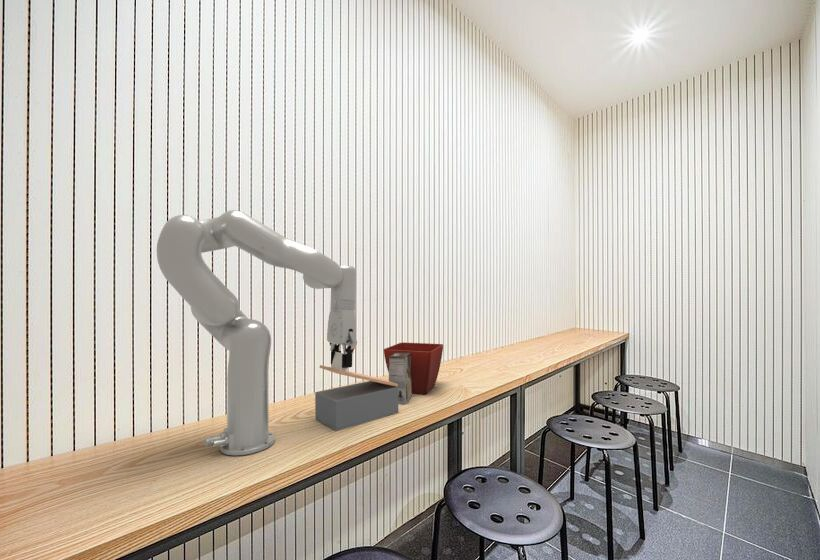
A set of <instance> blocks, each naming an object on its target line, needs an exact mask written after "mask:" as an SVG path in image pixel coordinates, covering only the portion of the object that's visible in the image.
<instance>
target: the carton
mask: <svg viewBox="0 0 820 560" xmlns="http://www.w3.org/2000/svg"><path fill="white" fill-rule="evenodd" d="M314 393H315V394H314V396H315V398H314V399H315V401H314V403H315V409H314V410H315V413H314V414H315V420H316V421H318V422H320V423H322V424H324V425H325V426H327V427H328V428H331V429H332V430H334V431H335V432H338V431H341V430H344V429H345V430H346V429H348V428H350V427H354V426H358V425H361V424H364V423H368V422H371V421H374V420H378V419H382V418H384V417H388V416H392V415H395V413H396V414H399V404H398V387H396V386H392V385H387V384H383V383H378V382H373V381H369V380H366V381H364V382H358V383H354V384H349V385H343V386H338V387H333V388H329V389H326V390H320V391H315V392H314Z"/></svg>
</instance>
